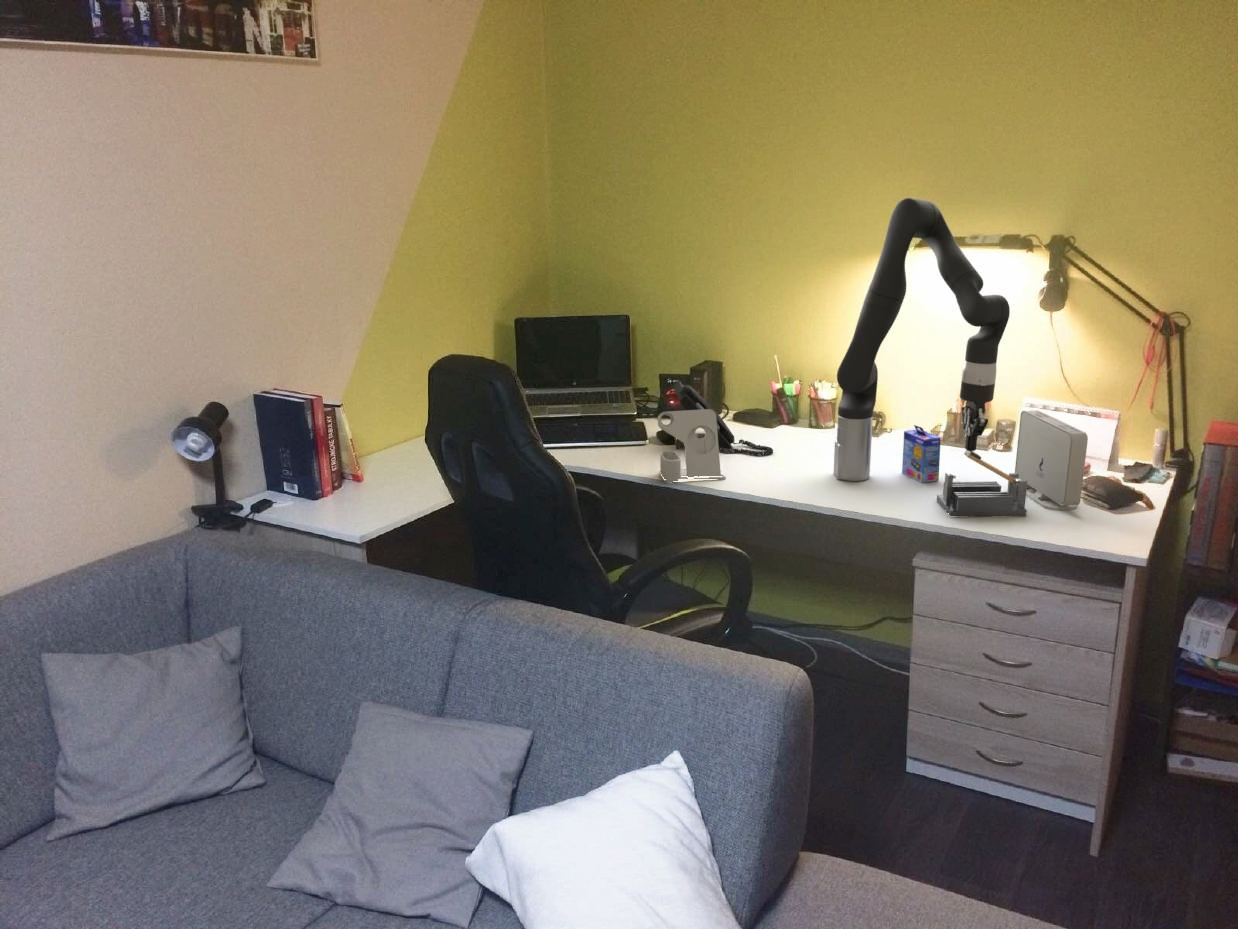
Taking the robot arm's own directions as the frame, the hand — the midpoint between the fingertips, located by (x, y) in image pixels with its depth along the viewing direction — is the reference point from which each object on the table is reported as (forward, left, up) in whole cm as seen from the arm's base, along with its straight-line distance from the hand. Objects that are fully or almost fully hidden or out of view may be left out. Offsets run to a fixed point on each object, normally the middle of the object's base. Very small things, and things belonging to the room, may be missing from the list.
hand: (970, 450), depth 235 cm
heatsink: (+4, 0, -15) cm, 15 cm away
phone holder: (-66, +29, -15) cm, 74 cm away
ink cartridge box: (-4, +26, -15) cm, 30 cm away
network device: (+23, +8, -15) cm, 28 cm away
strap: (+6, 0, -6) cm, 8 cm away
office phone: (-56, +61, -16) cm, 85 cm away
